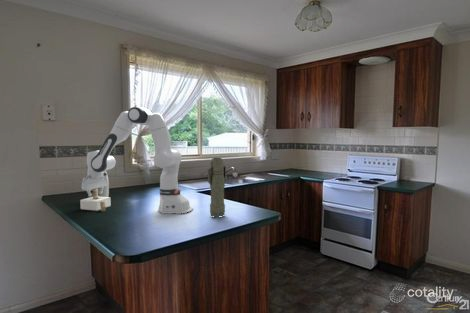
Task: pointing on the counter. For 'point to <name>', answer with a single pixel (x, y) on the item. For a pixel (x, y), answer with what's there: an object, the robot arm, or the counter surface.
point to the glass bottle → (104, 189)
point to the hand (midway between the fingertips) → (95, 194)
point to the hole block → (94, 203)
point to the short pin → (103, 206)
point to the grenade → (217, 186)
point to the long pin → (95, 193)
